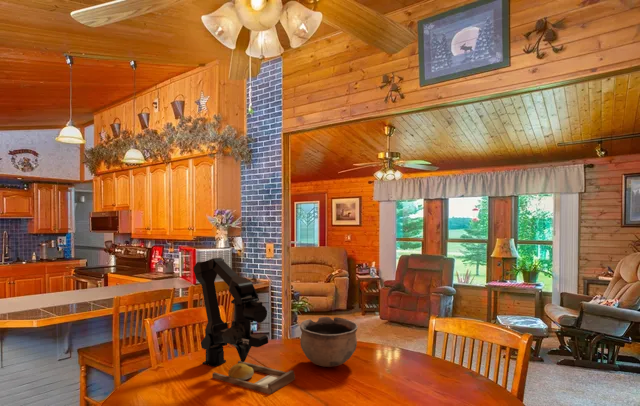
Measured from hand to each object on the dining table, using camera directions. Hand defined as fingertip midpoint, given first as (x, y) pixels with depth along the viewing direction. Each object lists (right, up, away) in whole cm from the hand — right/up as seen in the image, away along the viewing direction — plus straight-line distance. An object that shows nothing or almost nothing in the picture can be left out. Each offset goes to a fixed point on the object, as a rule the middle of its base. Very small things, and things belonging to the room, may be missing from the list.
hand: (243, 361), depth 148 cm
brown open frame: (+4, -5, -2) cm, 7 cm away
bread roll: (+3, -6, -2) cm, 7 cm away
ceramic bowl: (+31, -5, +12) cm, 33 cm away
